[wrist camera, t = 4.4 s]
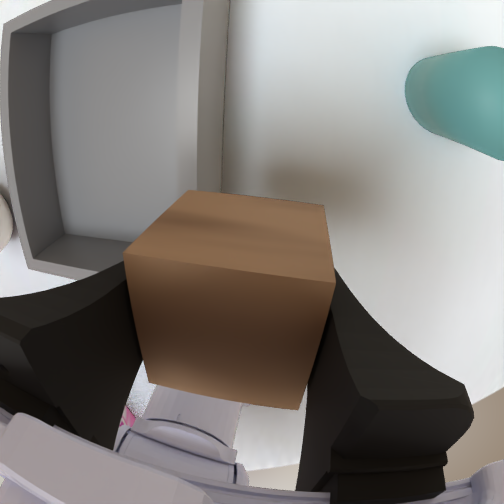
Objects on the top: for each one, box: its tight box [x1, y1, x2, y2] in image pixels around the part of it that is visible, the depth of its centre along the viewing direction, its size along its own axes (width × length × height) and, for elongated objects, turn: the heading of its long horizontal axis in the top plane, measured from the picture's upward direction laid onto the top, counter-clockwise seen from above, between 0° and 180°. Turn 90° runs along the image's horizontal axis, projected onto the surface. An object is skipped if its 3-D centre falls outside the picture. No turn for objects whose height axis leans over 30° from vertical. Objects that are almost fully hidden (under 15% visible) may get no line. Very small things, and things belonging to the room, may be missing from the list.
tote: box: [0, 0, 230, 280], centre depth 16 cm, size 18×14×5 cm
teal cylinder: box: [405, 46, 504, 161], centre depth 11 cm, size 5×5×7 cm
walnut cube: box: [123, 190, 336, 410], centre depth 10 cm, size 5×5×5 cm
